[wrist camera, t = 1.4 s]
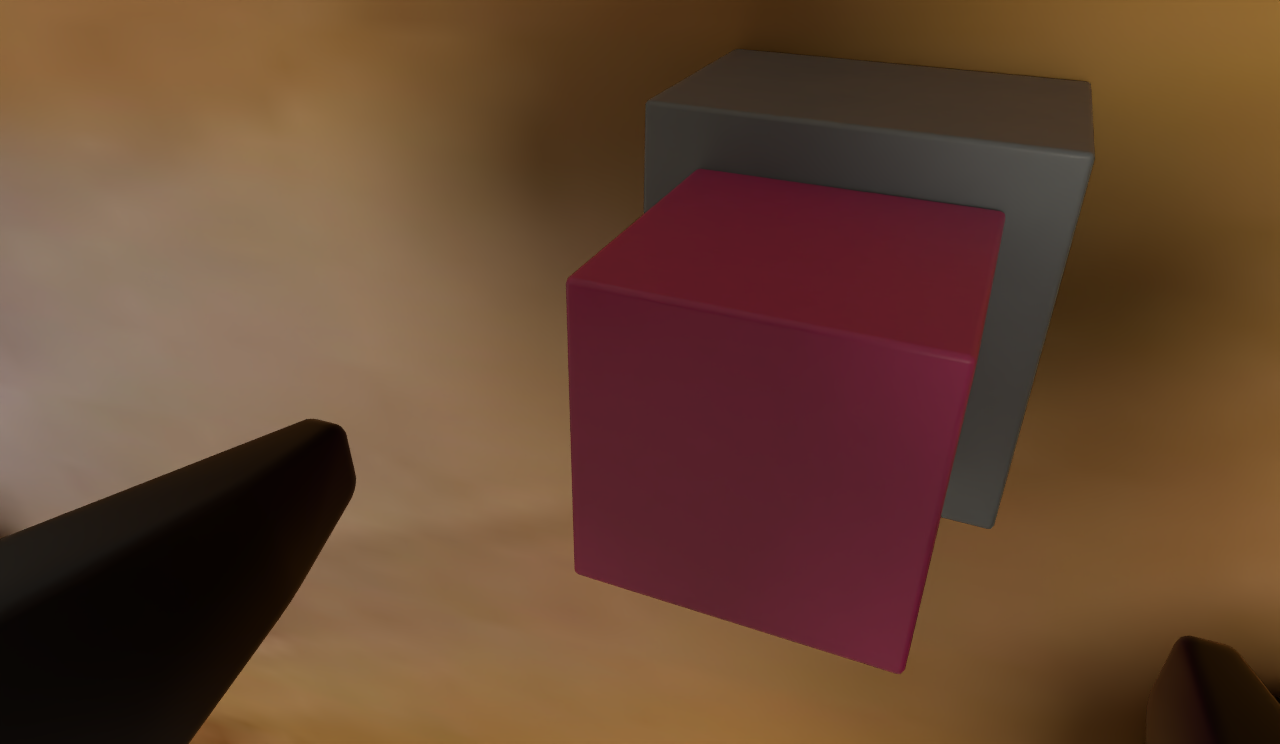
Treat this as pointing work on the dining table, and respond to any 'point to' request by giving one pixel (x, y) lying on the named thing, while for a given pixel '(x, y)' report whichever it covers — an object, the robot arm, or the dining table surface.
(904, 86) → the base block
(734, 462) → the top block
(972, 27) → the dining table surface
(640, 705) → the dining table surface
